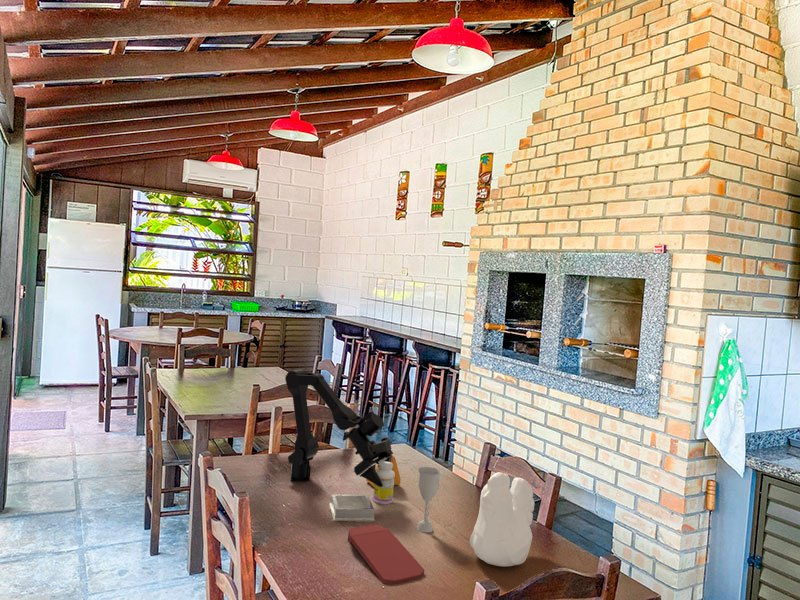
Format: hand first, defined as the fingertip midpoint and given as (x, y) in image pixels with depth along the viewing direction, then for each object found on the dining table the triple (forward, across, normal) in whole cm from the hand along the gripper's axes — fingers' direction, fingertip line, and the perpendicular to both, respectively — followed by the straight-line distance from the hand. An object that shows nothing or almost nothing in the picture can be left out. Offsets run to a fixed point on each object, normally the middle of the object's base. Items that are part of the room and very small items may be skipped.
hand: (388, 482), depth 196 cm
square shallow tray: (+1, -15, +8) cm, 17 cm away
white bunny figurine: (+37, -15, -28) cm, 49 cm away
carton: (+17, -36, -7) cm, 41 cm away
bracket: (-1, +14, +11) cm, 18 cm away
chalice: (+18, -12, -9) cm, 24 cm away
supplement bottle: (+4, 0, +6) cm, 7 cm away
